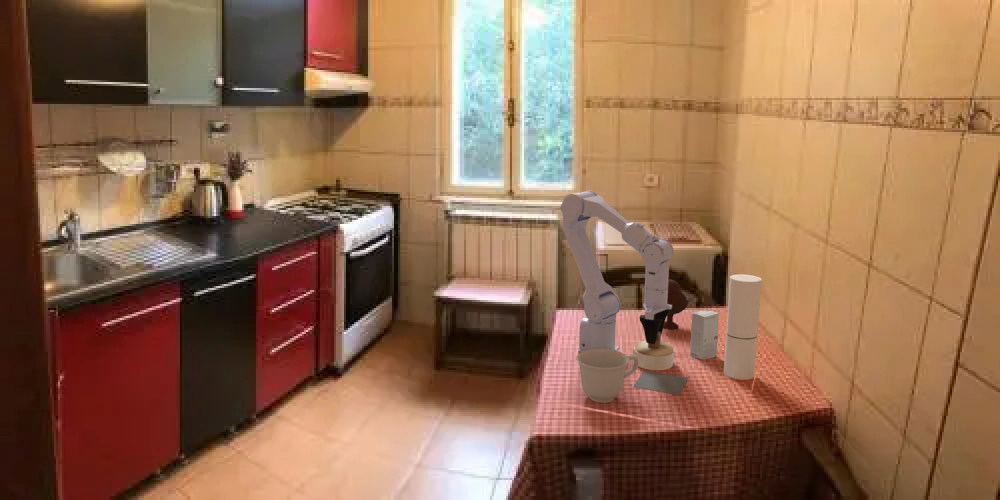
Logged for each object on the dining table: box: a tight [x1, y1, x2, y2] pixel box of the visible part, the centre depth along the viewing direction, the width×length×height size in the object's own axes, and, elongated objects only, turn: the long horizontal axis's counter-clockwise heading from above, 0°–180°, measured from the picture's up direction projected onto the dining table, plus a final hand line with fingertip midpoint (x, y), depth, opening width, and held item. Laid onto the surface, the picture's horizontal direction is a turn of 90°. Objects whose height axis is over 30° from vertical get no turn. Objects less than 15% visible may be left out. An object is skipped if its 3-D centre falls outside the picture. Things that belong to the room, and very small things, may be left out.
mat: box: [632, 370, 689, 396], centre depth 160 cm, size 11×11×1 cm
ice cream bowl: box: [663, 279, 690, 331], centre depth 201 cm, size 11×11×15 cm
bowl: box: [632, 346, 675, 371], centre depth 173 cm, size 10×10×4 cm
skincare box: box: [689, 309, 720, 360], centre depth 177 cm, size 6×4×12 cm
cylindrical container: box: [723, 273, 763, 381], centre depth 163 cm, size 7×7×25 cm
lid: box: [634, 331, 674, 356], centre depth 172 cm, size 10×10×5 cm
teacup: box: [575, 349, 639, 404], centre depth 152 cm, size 12×15×10 cm
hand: (654, 338), depth 172 cm, fingers open, 7 cm apart
